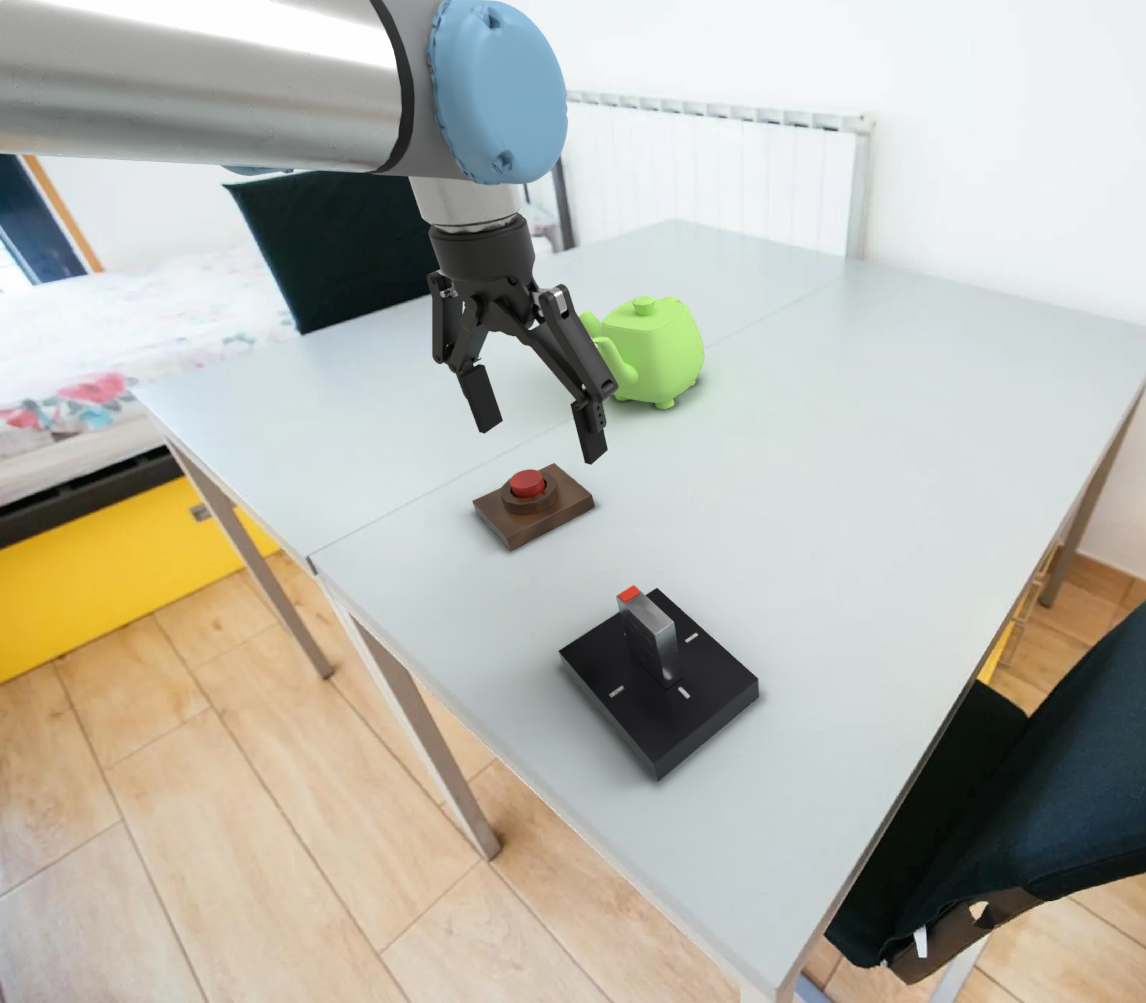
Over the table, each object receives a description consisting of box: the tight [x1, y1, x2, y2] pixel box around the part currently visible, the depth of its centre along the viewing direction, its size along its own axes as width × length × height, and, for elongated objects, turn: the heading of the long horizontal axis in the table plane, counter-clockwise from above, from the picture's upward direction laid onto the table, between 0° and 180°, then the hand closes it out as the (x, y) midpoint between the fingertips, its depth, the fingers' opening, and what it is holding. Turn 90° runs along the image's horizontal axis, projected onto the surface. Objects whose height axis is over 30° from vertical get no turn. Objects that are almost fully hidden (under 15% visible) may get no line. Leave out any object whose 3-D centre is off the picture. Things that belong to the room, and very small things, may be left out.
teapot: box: [578, 295, 706, 410], centre depth 101 cm, size 25×22×16 cm
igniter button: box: [509, 468, 545, 498], centre depth 79 cm, size 4×4×2 cm
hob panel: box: [557, 587, 760, 782], centre depth 60 cm, size 12×16×3 cm
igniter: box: [471, 462, 596, 551], centre depth 81 cm, size 12×10×4 cm
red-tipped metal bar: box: [615, 584, 683, 689], centre depth 57 cm, size 6×2×8 cm, turn 43°
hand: (542, 441), depth 63 cm, fingers open, 13 cm apart
